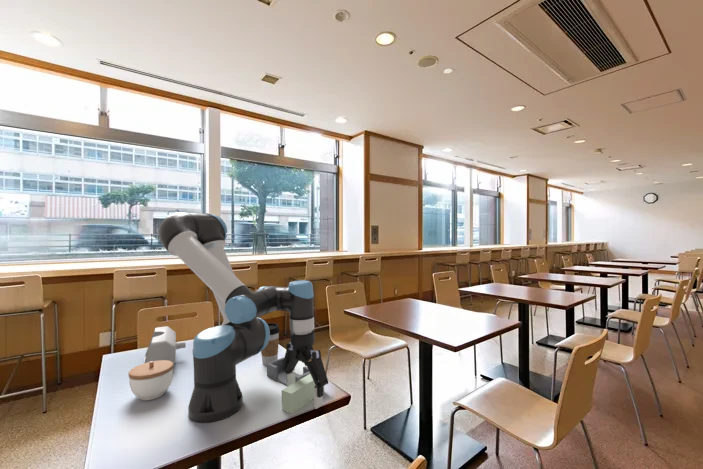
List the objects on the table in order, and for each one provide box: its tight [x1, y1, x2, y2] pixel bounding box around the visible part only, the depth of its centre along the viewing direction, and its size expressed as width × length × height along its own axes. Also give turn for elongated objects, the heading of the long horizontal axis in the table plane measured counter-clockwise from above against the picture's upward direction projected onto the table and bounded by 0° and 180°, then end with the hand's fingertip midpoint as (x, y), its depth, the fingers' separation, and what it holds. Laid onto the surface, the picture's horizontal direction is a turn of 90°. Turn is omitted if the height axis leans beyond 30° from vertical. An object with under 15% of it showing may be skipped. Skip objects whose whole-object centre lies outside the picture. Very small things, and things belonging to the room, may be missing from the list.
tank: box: [143, 325, 186, 365], centre depth 134 cm, size 25×16×12 cm, turn 28°
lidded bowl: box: [128, 360, 174, 401], centre depth 107 cm, size 13×13×11 cm
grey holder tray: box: [266, 357, 310, 387], centre depth 115 cm, size 8×18×4 cm, turn 48°
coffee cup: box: [260, 322, 281, 366], centre depth 131 cm, size 8×8×15 cm
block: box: [281, 374, 325, 414], centre depth 101 cm, size 15×4×6 cm, turn 147°
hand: (304, 399), depth 101 cm, fingers open, 12 cm apart
